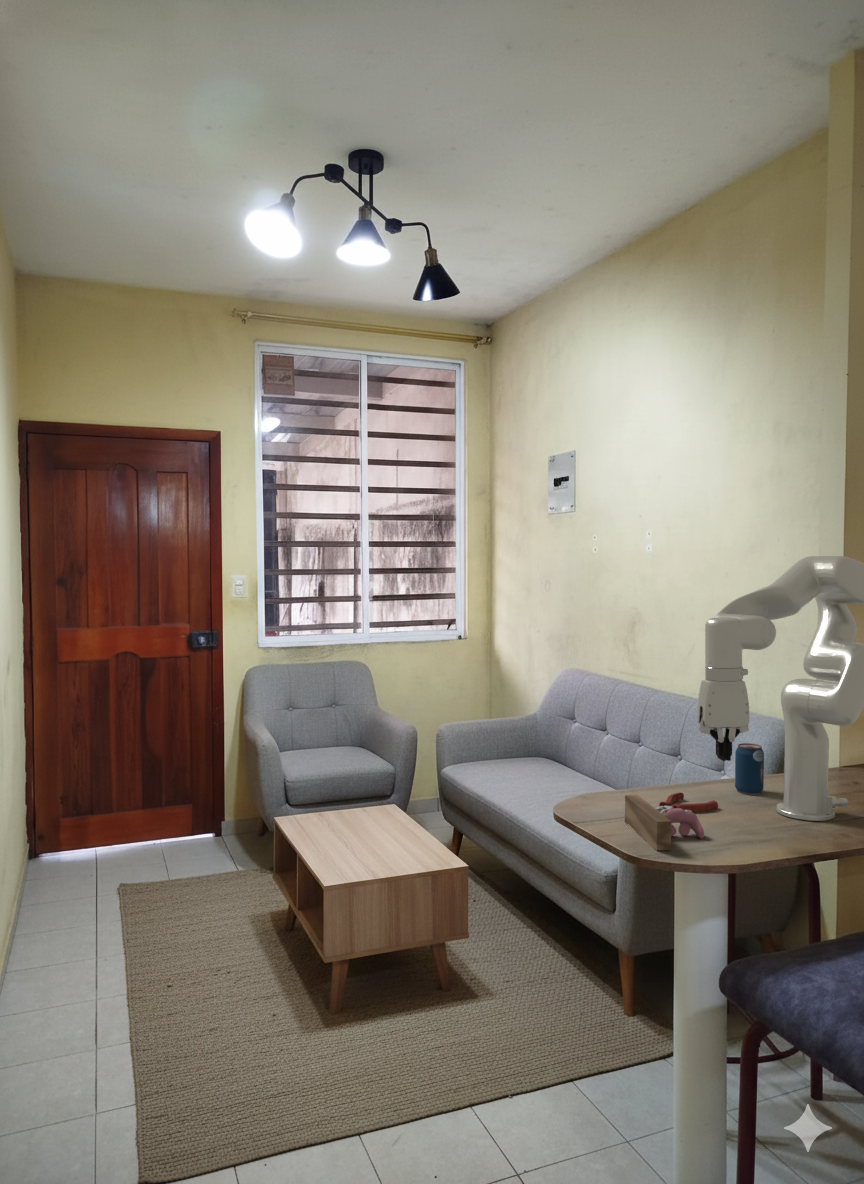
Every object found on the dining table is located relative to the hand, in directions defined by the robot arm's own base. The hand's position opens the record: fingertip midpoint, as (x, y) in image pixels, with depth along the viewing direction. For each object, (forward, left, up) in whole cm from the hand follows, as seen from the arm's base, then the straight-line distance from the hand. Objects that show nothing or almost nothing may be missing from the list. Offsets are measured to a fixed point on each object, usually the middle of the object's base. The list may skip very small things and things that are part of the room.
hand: (723, 759), depth 185 cm
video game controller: (+11, +2, -17) cm, 20 cm away
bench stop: (+17, 0, -16) cm, 24 cm away
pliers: (+4, -19, -17) cm, 26 cm away
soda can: (-22, -33, -16) cm, 43 cm away
